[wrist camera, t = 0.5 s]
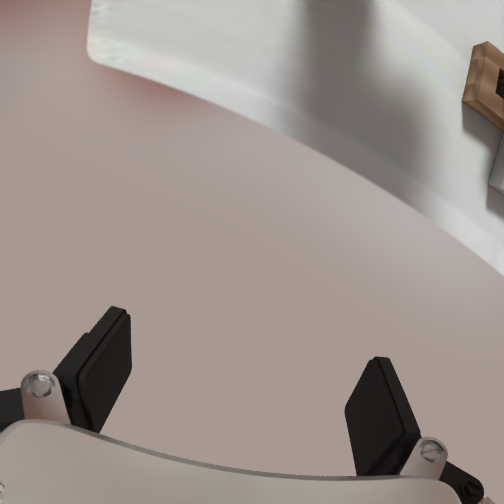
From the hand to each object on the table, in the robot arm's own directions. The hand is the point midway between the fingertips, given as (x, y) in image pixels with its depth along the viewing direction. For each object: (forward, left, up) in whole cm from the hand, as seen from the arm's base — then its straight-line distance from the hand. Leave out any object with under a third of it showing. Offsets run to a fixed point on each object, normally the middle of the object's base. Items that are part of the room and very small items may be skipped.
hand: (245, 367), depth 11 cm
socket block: (-29, +26, -30) cm, 49 cm away
